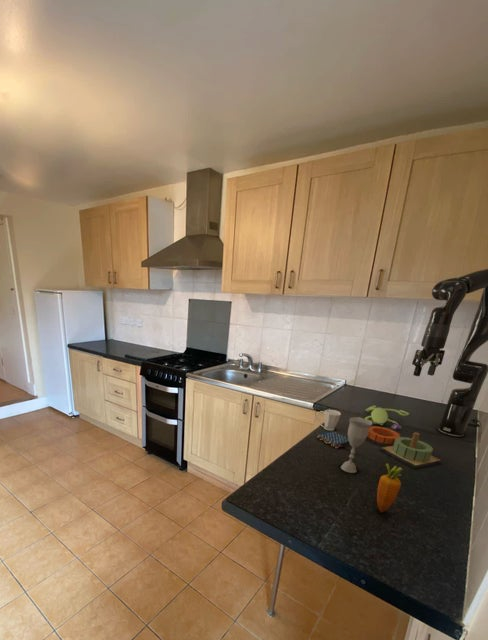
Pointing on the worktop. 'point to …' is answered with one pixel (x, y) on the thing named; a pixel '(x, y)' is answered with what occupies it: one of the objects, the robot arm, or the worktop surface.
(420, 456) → the green ring
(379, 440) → the orange ring
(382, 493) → the carrot
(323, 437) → the woven mat
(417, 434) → the ring stand
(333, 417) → the cup
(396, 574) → the worktop surface
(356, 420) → the chalice
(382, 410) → the figurine
